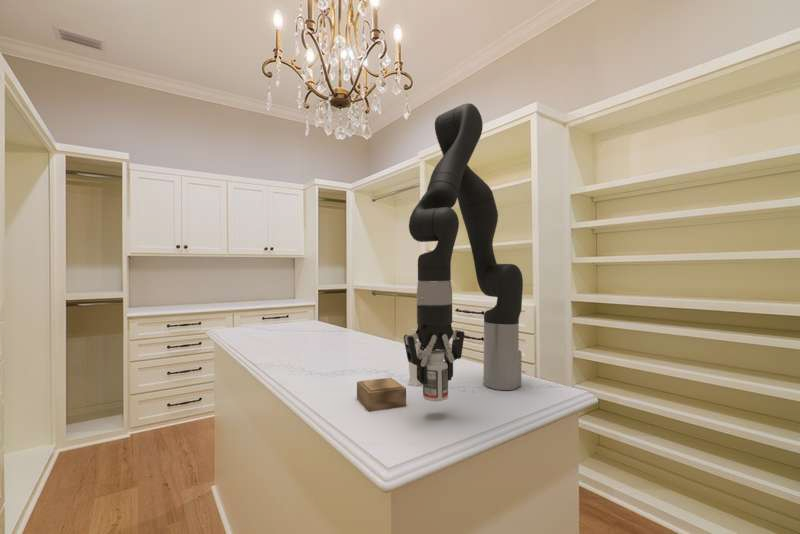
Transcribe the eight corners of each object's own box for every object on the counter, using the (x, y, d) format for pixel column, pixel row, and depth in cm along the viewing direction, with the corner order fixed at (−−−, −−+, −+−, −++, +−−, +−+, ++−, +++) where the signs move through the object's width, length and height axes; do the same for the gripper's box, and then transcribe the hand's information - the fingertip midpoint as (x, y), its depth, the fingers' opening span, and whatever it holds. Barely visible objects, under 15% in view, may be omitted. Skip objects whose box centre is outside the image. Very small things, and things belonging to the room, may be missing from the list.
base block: (391, 393, 92) (391, 376, 92) (406, 405, 84) (406, 387, 84) (356, 398, 88) (357, 380, 88) (368, 411, 80) (368, 391, 80)
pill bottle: (440, 392, 81) (440, 348, 81) (452, 400, 76) (452, 353, 76) (418, 395, 79) (418, 350, 79) (429, 403, 74) (429, 355, 74)
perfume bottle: (422, 386, 98) (423, 330, 98) (406, 385, 99) (406, 329, 99) (424, 381, 103) (425, 328, 103) (409, 380, 104) (409, 327, 104)
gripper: (453, 299, 84) (454, 372, 84) (396, 302, 78) (397, 381, 78) (472, 301, 78) (473, 381, 77) (412, 305, 72) (412, 391, 72)
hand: (435, 381), depth 78 cm, fingers closed on pill bottle, 5 cm apart
